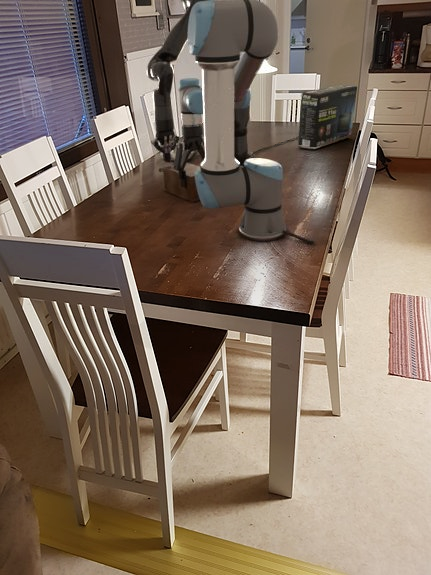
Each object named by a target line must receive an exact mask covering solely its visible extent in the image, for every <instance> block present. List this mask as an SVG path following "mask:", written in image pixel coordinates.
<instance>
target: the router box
mask: <svg viewBox="0 0 431 575" xmlns="http://www.w3.org/2000/svg"><path fill="white" fill-rule="evenodd" d="M357 93H358V86H356V85H350V84H339V85H338V84H337V85H334V86H328V87H324V88H318V89H314V90H309V91H304V92H301V93H300V109H299V110H300V111H299V124H298V135H297V136H298V138H297V146H298V145H302V146H307V147H317V146H320V145H323V144H325V143H328V142H331V141H333V140H336V139H338V138H341V137H344V136H347V135H351V136H352V133H353V132H352V131H353V125H354V115H355V109H356V99H357ZM311 151H313V150H312V149H311Z"/></svg>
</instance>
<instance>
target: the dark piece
mask: <svg viewBox="0 0 431 575" xmlns="http://www.w3.org/2000/svg"><path fill="white" fill-rule="evenodd" d="M168 166H169V165H168ZM168 166H166V167H168ZM158 172H159V173H163V182H164V188H165V189H166V183H165V172H164V167H161V168H158Z"/></svg>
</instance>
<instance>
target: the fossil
mask: <svg viewBox="0 0 431 575" xmlns="http://www.w3.org/2000/svg"><path fill="white" fill-rule="evenodd" d="M184 147H185V146H184ZM176 150H177V148H176V147H175V149H174V150H172V151H171V160H170V161H175V155H176ZM183 150H184V148H183ZM187 151H188V150H187ZM197 154H199V152H198V151H197V150H195V151H193V152H191V154H190V155H189V157H188V160H190V159H191V158H192V157H193V156H194V155H197ZM182 155H183V154H182ZM160 156H161V158H162V159H163V153H162V152H160Z"/></svg>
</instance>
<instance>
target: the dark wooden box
mask: <svg viewBox="0 0 431 575" xmlns="http://www.w3.org/2000/svg"><path fill="white" fill-rule="evenodd" d="M173 167H174V164H173V165H172V164H171V165H168V167H167V166H164V167H163V168H164V172H165V183H166V188H165V192H166V193H168V194H170V195H174V196H177V197H179V198H181V199H184V200H186V201H189V202H190V203H195V202H197V201H200V198H199V195H198V191H197V187H196V182H195V172H196V171H198V170H199V171H200V165H196V164H192V163H190V162H187V163H186V165H185V168H184V170H185V171H186V183H187V188H184V187H181V179H179V173H178V170H175V169H174V168H173ZM165 183H164V184H165Z"/></svg>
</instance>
